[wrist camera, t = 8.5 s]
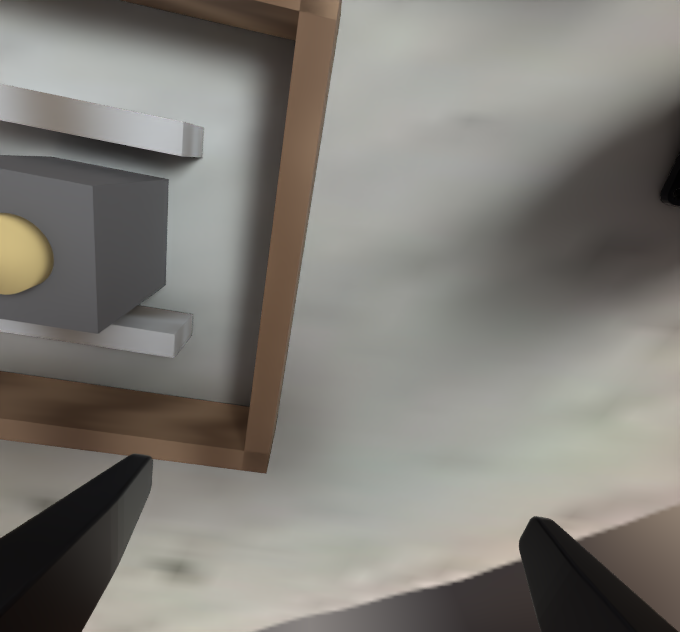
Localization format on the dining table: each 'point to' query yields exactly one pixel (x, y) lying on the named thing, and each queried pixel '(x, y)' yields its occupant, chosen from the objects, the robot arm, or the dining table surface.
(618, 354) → the dining table surface
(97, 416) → the wooden serving tray
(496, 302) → the dining table surface
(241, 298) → the dining table surface
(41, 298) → the grey block
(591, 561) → the robot arm
